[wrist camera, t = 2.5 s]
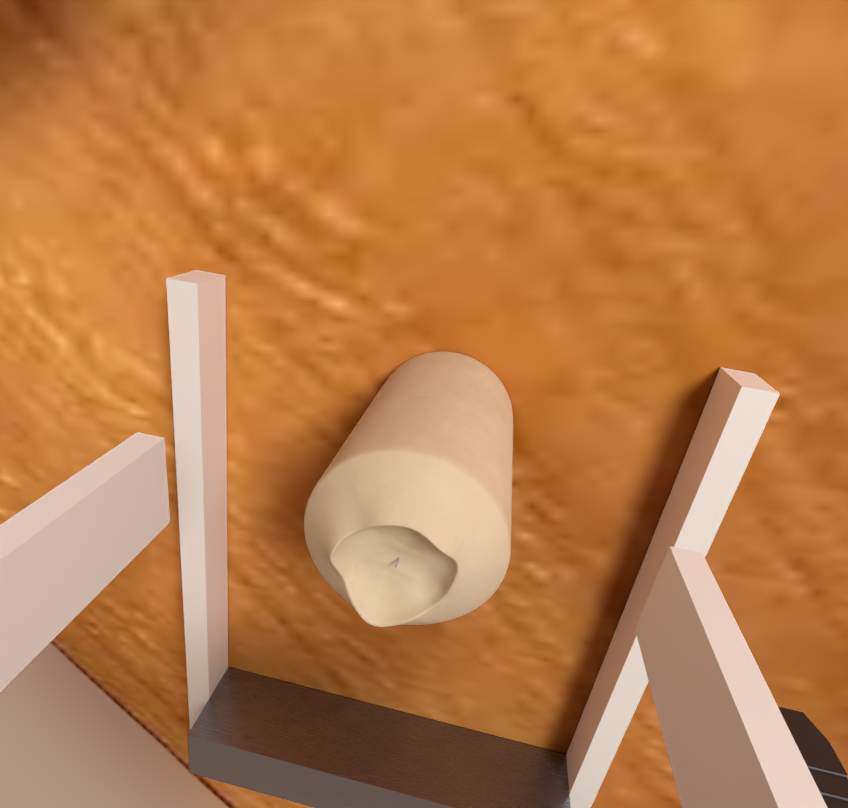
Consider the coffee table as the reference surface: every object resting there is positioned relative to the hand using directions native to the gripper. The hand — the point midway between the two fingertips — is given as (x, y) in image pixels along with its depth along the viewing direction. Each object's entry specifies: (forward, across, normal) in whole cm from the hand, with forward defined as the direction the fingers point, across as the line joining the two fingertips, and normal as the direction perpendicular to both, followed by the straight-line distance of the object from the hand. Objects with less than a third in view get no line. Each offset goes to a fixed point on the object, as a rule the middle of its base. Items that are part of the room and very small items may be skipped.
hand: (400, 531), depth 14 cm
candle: (+9, 0, 0) cm, 9 cm away
